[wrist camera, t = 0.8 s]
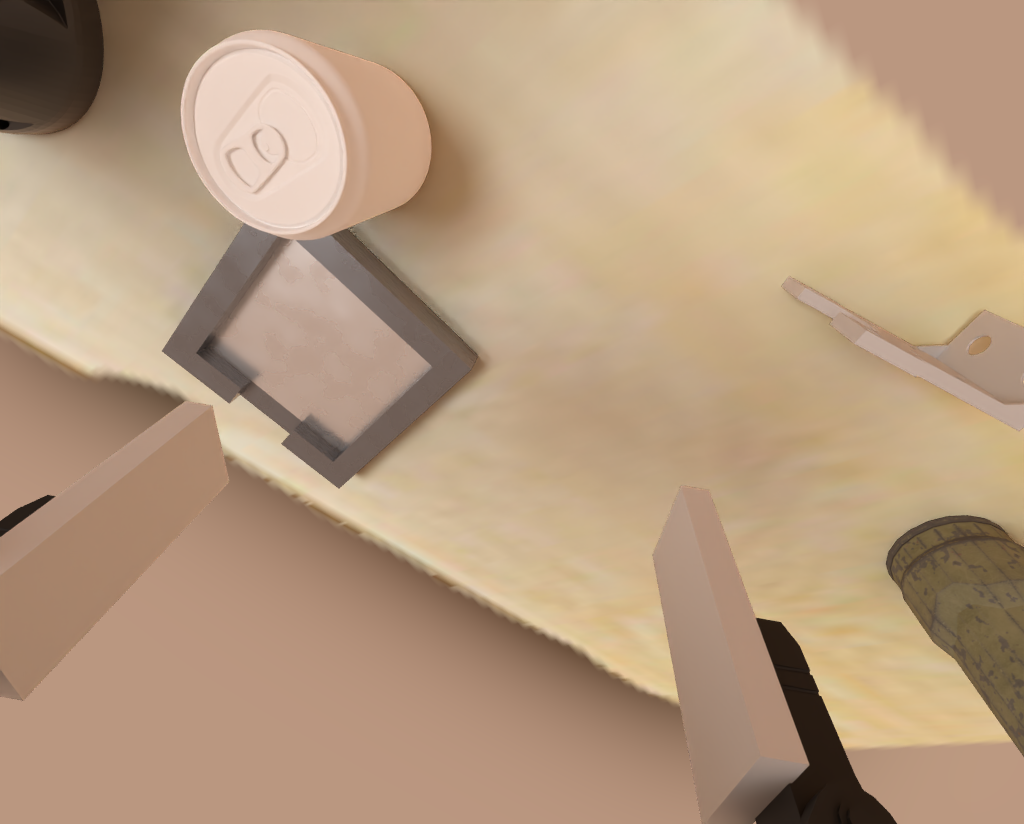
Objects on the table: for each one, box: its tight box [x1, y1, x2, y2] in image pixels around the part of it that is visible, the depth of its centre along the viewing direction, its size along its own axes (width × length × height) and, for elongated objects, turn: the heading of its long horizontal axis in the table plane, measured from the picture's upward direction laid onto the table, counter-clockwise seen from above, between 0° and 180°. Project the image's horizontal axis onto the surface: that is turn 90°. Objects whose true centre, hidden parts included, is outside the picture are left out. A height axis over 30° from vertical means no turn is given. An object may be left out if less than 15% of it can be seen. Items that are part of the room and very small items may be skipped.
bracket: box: [781, 276, 1024, 431], centre depth 27 cm, size 11×4×10 cm, turn 65°
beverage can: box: [181, 29, 432, 240], centre depth 25 cm, size 8×8×12 cm
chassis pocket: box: [162, 223, 478, 488], centre depth 37 cm, size 17×17×2 cm
